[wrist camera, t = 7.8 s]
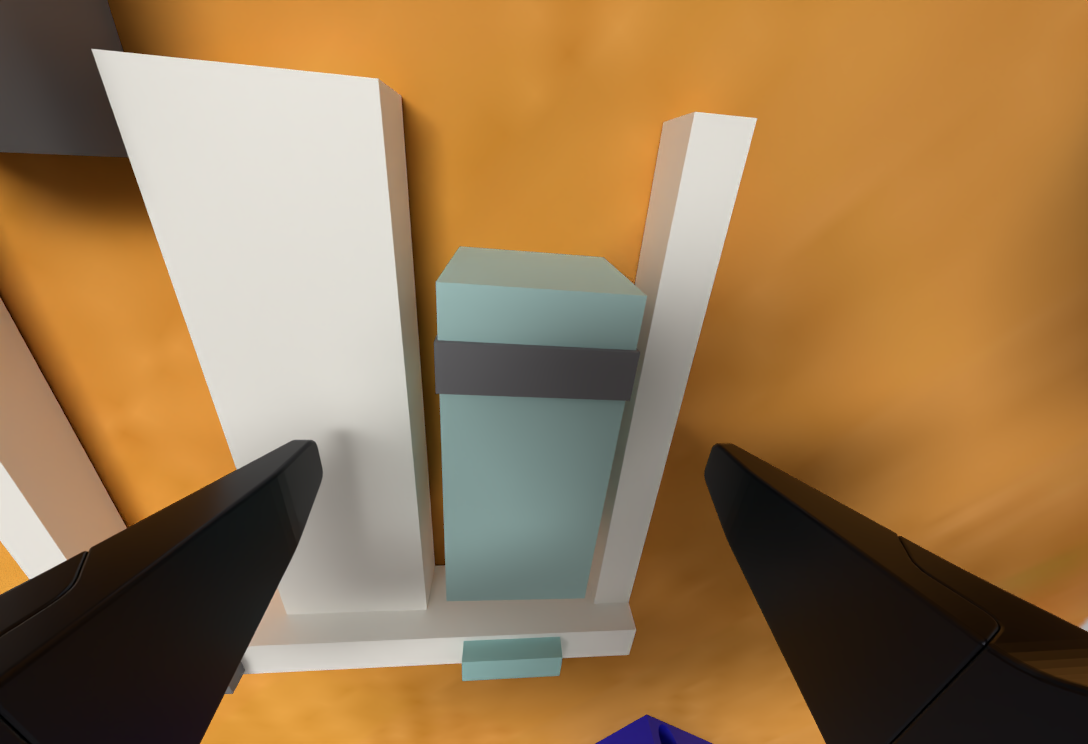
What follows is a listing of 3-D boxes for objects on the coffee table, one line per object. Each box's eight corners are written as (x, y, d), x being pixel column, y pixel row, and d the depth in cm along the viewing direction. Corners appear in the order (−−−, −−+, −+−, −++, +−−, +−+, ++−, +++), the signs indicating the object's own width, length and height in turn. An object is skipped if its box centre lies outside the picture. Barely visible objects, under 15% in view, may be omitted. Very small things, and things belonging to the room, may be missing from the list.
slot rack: (715, 127, 9) (813, 105, 6) (611, 585, 15) (634, 675, 13) (-222, 32, 7) (-719, -63, 4) (128, 600, 14) (31, 708, 11)
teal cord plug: (605, 257, 10) (651, 297, 7) (568, 499, 13) (587, 602, 10) (457, 245, 9) (431, 282, 6) (459, 498, 13) (443, 605, 10)
